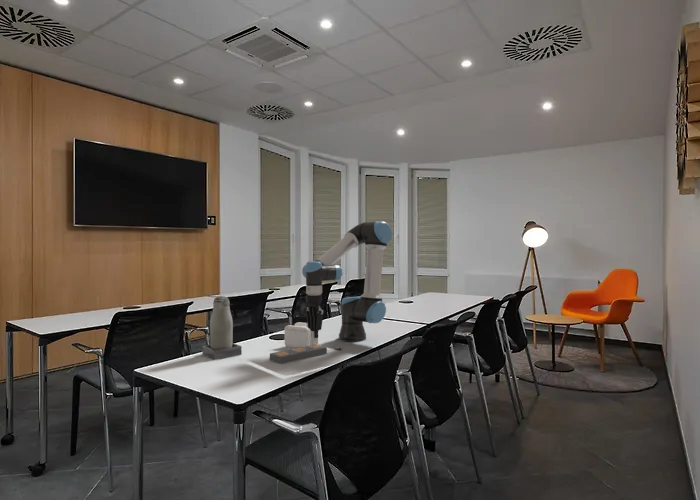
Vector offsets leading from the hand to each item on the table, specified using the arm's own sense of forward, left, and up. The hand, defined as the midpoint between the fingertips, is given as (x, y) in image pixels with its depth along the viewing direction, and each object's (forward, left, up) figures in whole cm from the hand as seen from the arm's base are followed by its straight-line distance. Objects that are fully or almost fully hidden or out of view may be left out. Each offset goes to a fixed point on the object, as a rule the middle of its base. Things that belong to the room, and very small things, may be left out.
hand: (314, 344), depth 201 cm
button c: (+18, 0, -4) cm, 18 cm away
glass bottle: (+31, -33, -6) cm, 45 cm away
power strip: (+3, 0, -5) cm, 6 cm away
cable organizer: (-5, -18, -6) cm, 20 cm away
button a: (0, 0, -4) cm, 4 cm away
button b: (+9, 0, -4) cm, 10 cm away
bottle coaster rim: (+31, -33, -5) cm, 45 cm away
